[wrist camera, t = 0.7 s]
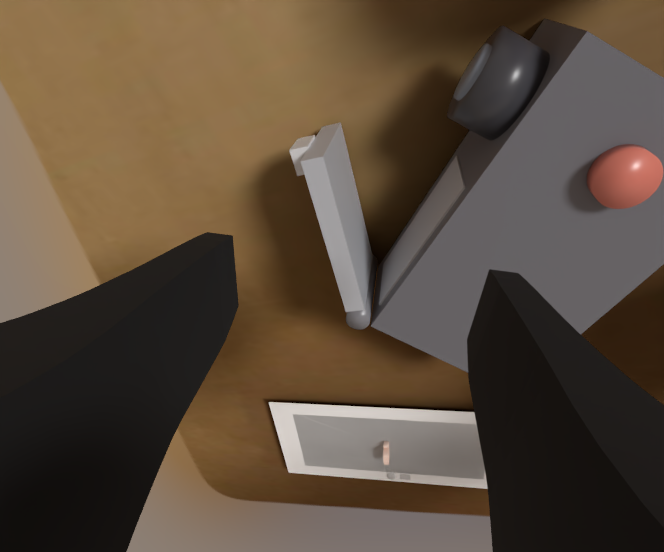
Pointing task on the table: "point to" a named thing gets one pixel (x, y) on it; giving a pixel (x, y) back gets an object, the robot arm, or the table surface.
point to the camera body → (534, 190)
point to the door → (339, 218)
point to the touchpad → (381, 443)
